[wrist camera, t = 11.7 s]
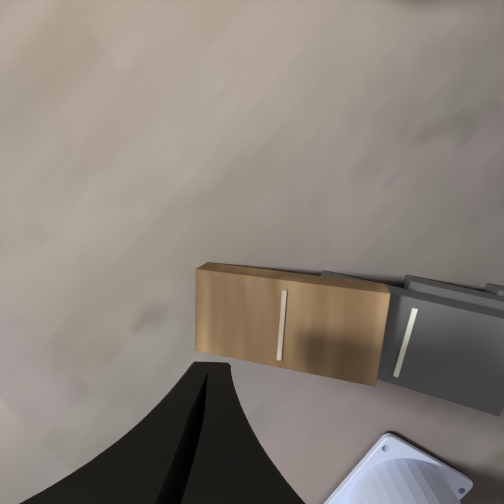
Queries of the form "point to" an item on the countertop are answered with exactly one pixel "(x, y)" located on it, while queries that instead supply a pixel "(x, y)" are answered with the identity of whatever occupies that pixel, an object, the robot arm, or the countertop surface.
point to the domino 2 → (443, 348)
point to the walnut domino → (292, 320)
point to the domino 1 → (454, 292)
